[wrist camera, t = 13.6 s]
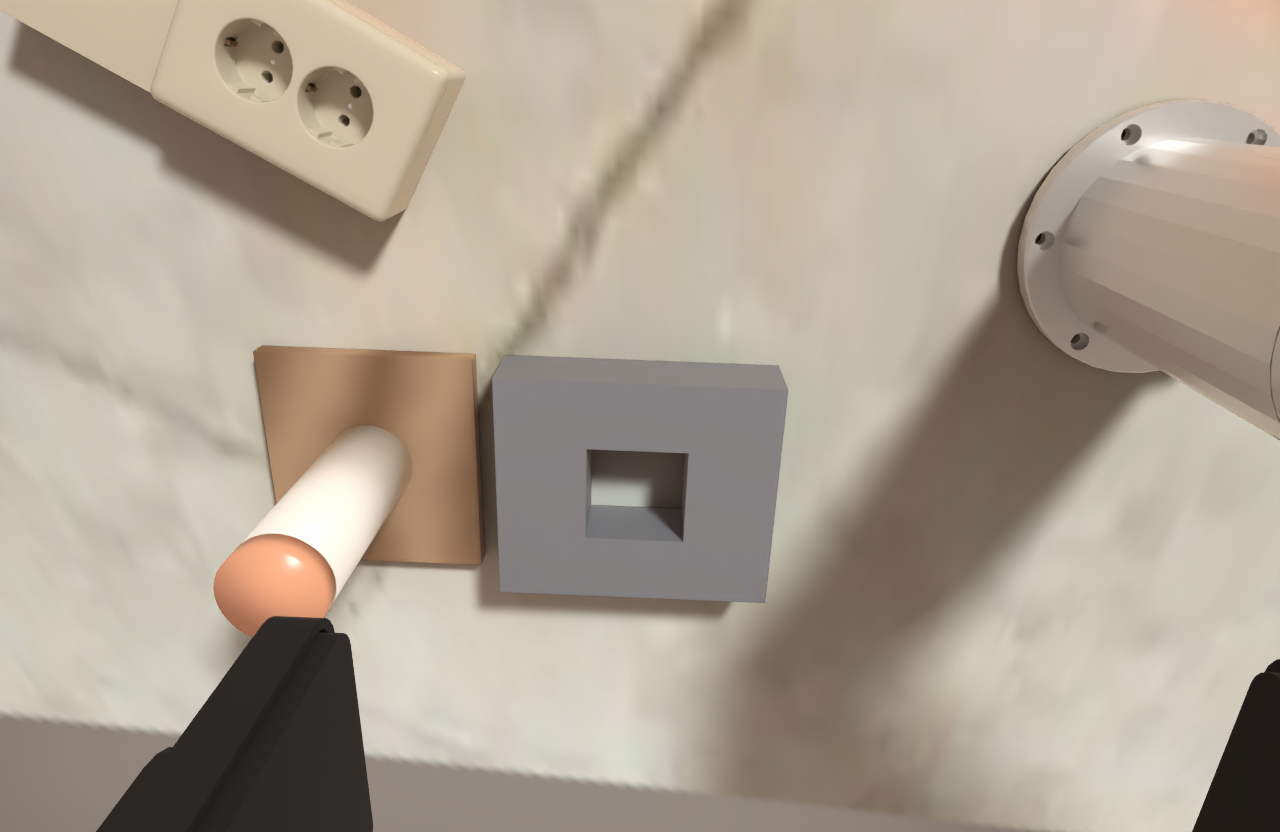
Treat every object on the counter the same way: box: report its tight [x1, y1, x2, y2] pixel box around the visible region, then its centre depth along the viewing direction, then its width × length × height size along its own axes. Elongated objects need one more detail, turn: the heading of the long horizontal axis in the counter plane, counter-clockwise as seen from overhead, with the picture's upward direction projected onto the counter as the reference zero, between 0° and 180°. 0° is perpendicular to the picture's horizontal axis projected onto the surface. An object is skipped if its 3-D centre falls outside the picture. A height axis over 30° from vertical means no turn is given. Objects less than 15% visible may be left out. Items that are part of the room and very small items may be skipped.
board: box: [253, 346, 485, 565], centre depth 44 cm, size 11×12×1 cm
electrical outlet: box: [0, 0, 465, 222], centre depth 35 cm, size 7×4×18 cm
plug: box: [214, 425, 412, 637], centre depth 38 cm, size 4×4×12 cm
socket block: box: [492, 355, 788, 603], centre depth 43 cm, size 14×12×4 cm
